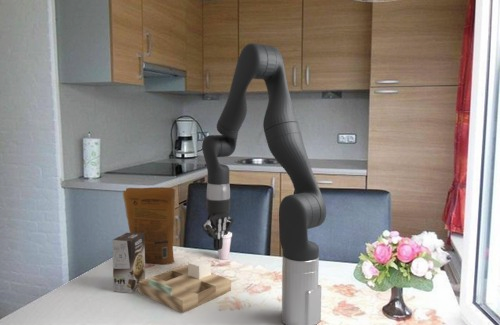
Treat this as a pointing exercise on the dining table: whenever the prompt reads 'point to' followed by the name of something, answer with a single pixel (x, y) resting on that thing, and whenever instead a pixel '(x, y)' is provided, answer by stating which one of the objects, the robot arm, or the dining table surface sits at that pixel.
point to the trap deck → (183, 288)
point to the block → (199, 268)
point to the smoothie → (225, 247)
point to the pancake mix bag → (152, 220)
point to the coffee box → (128, 262)
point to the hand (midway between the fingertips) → (218, 248)
